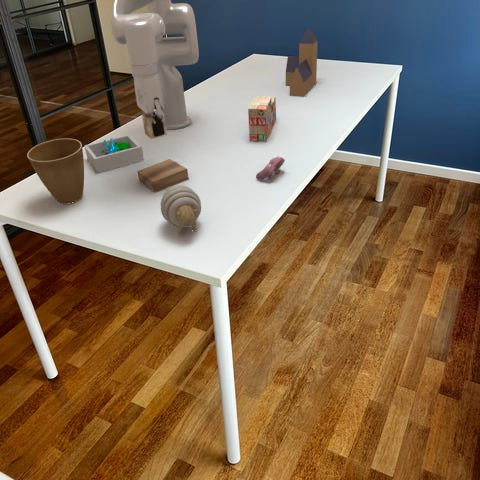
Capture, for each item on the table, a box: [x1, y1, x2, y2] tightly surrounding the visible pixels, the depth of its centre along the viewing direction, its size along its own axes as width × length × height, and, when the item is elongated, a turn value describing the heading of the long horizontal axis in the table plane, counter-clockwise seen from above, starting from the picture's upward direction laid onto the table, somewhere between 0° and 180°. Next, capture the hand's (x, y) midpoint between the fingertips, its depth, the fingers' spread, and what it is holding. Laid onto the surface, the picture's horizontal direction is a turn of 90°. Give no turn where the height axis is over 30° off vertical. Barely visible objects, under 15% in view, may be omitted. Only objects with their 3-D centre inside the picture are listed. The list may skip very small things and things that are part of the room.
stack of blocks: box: [247, 95, 277, 143], centre depth 176 cm, size 21×6×12 cm, turn 167°
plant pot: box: [26, 137, 85, 205], centre depth 140 cm, size 15×15×16 cm
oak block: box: [141, 110, 168, 140], centre depth 140 cm, size 5×5×6 cm
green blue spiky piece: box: [102, 137, 130, 155], centre depth 167 cm, size 12×7×8 cm
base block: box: [136, 158, 189, 193], centre depth 150 cm, size 10×12×4 cm
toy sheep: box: [160, 184, 202, 236], centre depth 126 cm, size 11×17×11 cm, turn 24°
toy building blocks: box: [285, 26, 319, 98], centre depth 209 cm, size 12×19×25 cm
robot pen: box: [83, 134, 145, 174], centre depth 164 cm, size 13×16×5 cm
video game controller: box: [255, 155, 286, 181], centre depth 148 cm, size 10×5×7 cm, turn 149°
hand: (155, 131), depth 142 cm, fingers closed on oak block, 5 cm apart
